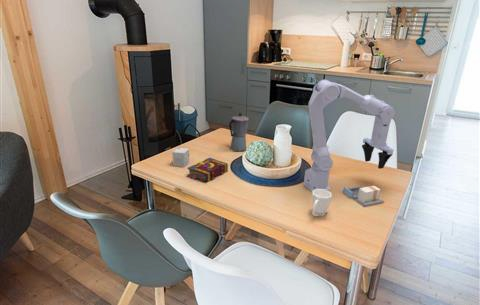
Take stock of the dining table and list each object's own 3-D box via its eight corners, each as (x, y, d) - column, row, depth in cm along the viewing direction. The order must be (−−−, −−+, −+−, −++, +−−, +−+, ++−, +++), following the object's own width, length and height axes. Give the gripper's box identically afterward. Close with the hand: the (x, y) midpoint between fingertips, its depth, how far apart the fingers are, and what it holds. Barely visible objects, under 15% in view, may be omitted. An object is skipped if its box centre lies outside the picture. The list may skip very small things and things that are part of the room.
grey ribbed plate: (362, 208, 120) (364, 201, 119) (341, 192, 131) (342, 185, 130) (384, 203, 123) (385, 196, 122) (361, 188, 134) (362, 182, 133)
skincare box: (184, 167, 152) (183, 153, 149) (172, 166, 153) (171, 151, 150) (189, 162, 157) (189, 148, 154) (178, 161, 159) (177, 147, 156)
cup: (332, 211, 118) (335, 192, 115) (322, 224, 110) (324, 203, 107) (314, 205, 121) (316, 186, 118) (303, 217, 114) (305, 197, 111)
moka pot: (252, 147, 178) (254, 112, 171) (238, 155, 166) (238, 118, 159) (238, 143, 183) (238, 109, 176) (223, 151, 171) (222, 115, 164)
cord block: (363, 204, 122) (365, 192, 120) (357, 199, 125) (359, 188, 123) (378, 201, 124) (380, 189, 122) (371, 196, 127) (374, 185, 125)
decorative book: (228, 171, 149) (228, 162, 147) (205, 184, 136) (205, 174, 134) (209, 165, 155) (209, 156, 153) (186, 177, 142) (185, 167, 141)
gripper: (401, 138, 123) (394, 170, 128) (374, 127, 136) (369, 156, 141) (387, 140, 121) (381, 172, 126) (361, 128, 134) (356, 158, 139)
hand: (374, 164), depth 133 cm, fingers open, 7 cm apart
